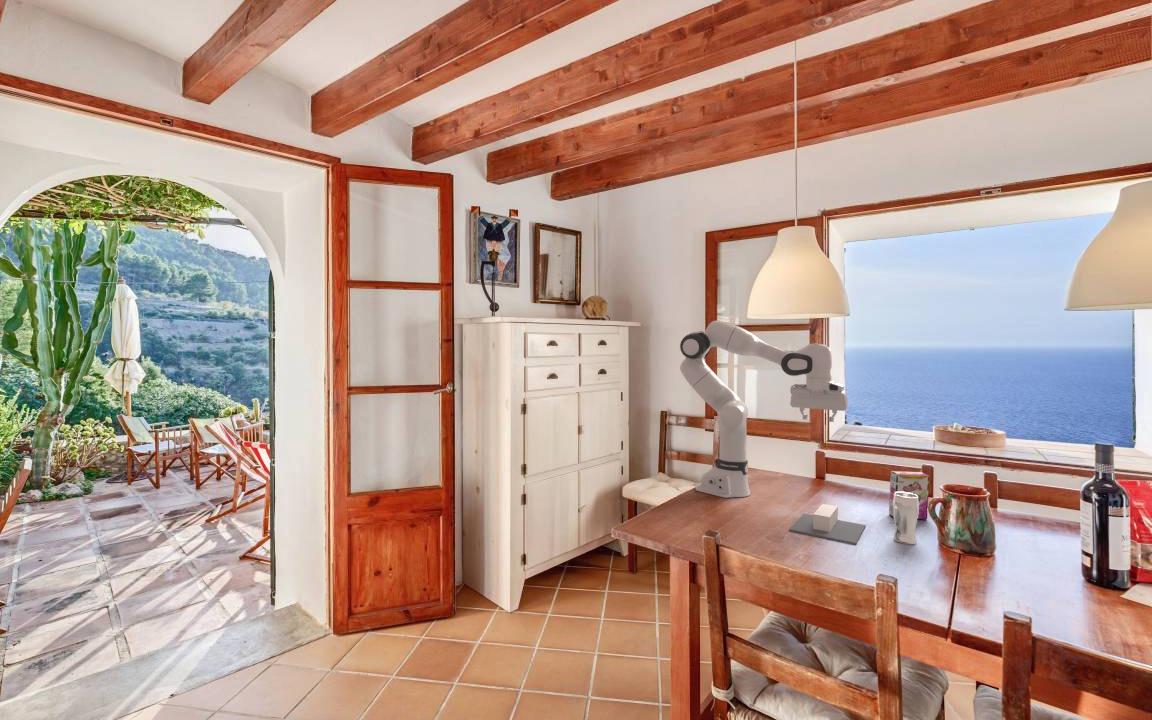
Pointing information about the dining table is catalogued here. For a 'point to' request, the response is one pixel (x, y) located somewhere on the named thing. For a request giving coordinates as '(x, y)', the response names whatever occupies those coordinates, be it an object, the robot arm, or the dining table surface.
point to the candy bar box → (910, 489)
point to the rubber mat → (839, 531)
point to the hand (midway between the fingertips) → (818, 420)
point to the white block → (825, 517)
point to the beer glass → (905, 517)
